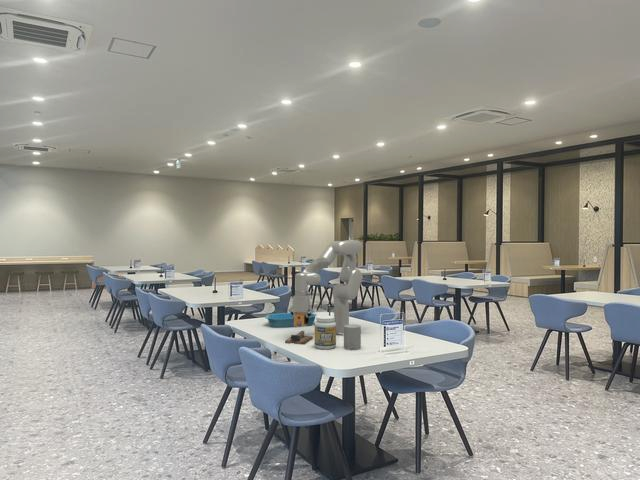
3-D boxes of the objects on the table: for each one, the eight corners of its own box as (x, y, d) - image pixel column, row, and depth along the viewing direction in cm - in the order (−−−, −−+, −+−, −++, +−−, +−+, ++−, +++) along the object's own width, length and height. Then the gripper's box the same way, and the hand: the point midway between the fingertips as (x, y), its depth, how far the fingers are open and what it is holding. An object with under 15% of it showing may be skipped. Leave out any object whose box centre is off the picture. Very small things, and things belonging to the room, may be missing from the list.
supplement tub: (316, 350, 259) (316, 319, 259) (312, 345, 271) (312, 315, 271) (338, 349, 261) (338, 318, 261) (333, 344, 273) (333, 314, 273)
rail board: (312, 338, 288) (312, 331, 288) (304, 344, 273) (304, 336, 272) (293, 337, 291) (293, 330, 291) (285, 343, 276) (285, 335, 276)
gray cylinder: (355, 350, 257) (355, 328, 257) (340, 348, 262) (340, 326, 262) (363, 347, 266) (363, 325, 265) (348, 345, 271) (348, 323, 270)
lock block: (307, 324, 288) (308, 312, 288) (303, 326, 280) (303, 314, 280) (297, 323, 290) (298, 312, 290) (293, 326, 282) (293, 314, 282)
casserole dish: (268, 329, 317) (268, 318, 317) (262, 323, 339) (262, 313, 339) (320, 326, 329) (321, 316, 329) (311, 320, 350) (311, 311, 350)
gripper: (316, 293, 287) (316, 323, 287) (289, 292, 291) (289, 321, 291) (313, 294, 280) (312, 325, 280) (285, 293, 284) (285, 323, 284)
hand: (300, 323), depth 285 cm, fingers closed on lock block, 6 cm apart
